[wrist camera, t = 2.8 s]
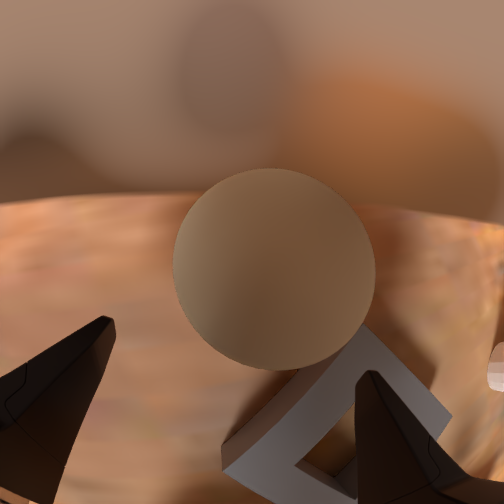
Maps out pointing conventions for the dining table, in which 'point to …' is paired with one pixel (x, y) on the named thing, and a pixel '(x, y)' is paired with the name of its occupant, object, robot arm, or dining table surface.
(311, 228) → the peg
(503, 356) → the shot glass
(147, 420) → the dining table surface
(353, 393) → the socket
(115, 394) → the dining table surface
